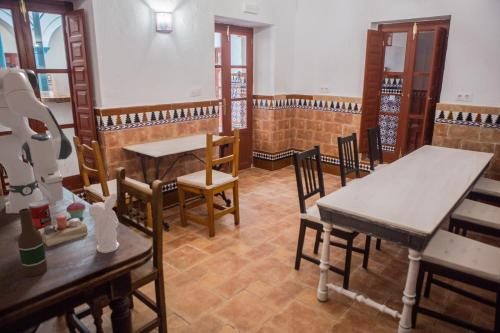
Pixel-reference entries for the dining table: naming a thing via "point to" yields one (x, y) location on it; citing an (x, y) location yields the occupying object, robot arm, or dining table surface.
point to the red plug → (61, 222)
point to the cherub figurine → (105, 224)
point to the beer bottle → (31, 246)
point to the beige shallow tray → (63, 234)
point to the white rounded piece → (74, 222)
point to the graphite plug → (49, 229)
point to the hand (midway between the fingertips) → (52, 205)
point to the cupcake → (76, 209)
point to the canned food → (40, 213)
